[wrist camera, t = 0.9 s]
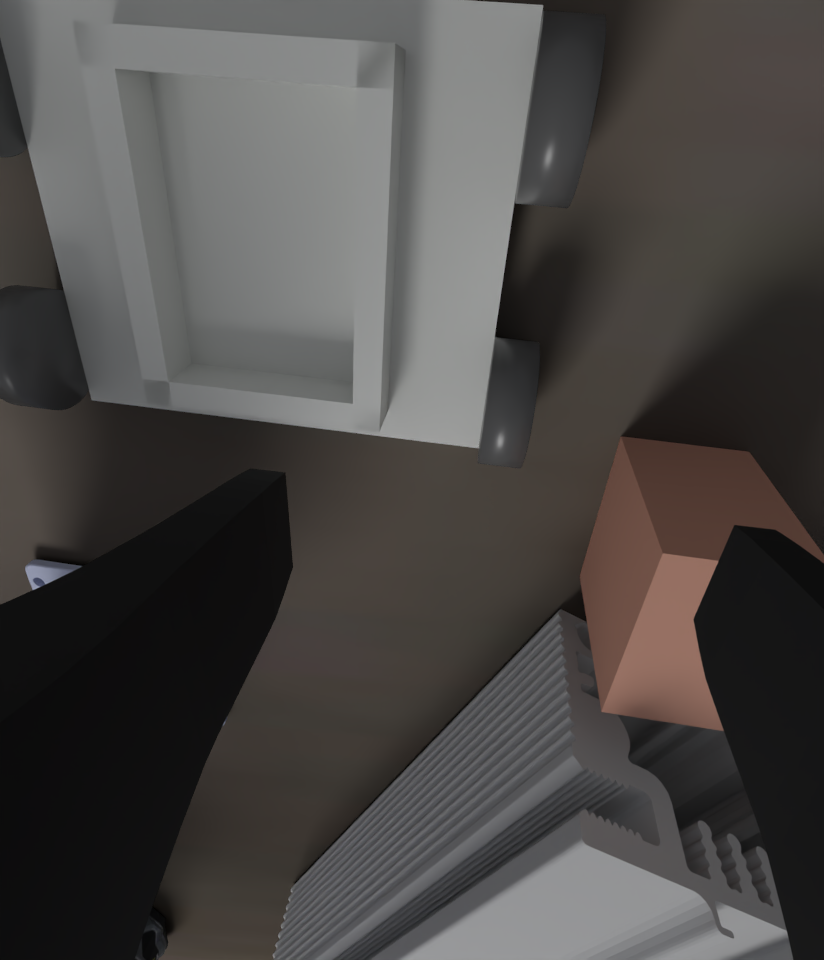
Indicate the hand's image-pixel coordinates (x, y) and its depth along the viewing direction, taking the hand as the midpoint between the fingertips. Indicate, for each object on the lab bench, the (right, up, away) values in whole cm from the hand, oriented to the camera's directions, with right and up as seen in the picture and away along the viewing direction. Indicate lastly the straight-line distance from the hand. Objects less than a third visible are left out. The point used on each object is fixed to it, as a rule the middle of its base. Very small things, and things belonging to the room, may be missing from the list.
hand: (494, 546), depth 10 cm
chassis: (-5, +8, +7) cm, 12 cm away
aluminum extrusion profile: (+4, -18, +23) cm, 29 cm away
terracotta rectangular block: (+7, 0, +11) cm, 13 cm away
